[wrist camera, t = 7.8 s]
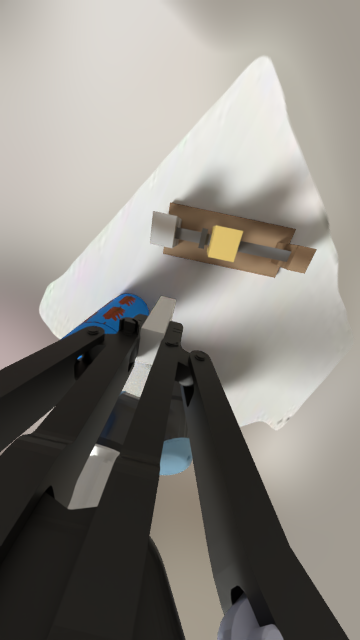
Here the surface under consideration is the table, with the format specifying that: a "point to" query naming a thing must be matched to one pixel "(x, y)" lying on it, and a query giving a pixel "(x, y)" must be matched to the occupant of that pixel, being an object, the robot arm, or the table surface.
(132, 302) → the thermos
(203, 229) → the rod stand
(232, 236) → the sleeve
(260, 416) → the table surface
